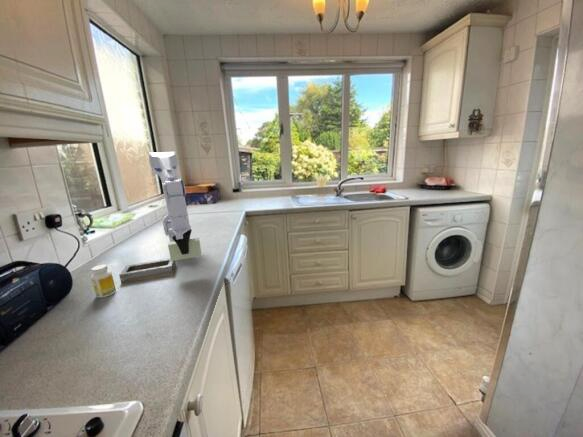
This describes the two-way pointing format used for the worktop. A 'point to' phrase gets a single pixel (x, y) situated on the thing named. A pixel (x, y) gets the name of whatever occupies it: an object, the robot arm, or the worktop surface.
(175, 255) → the door panel
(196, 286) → the worktop surface
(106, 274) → the supplement bottle
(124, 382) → the worktop surface
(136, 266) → the frame
